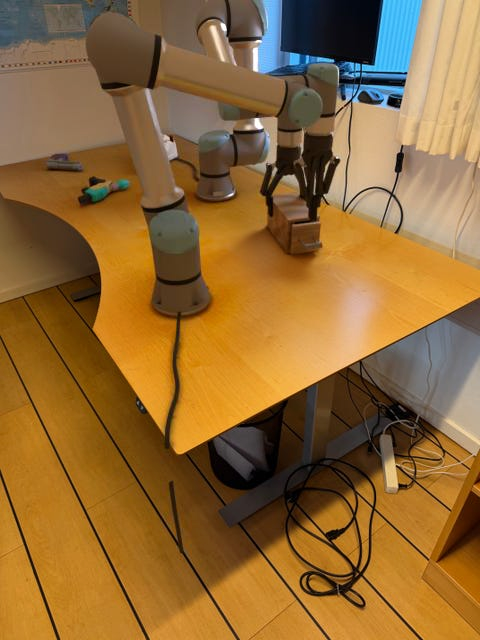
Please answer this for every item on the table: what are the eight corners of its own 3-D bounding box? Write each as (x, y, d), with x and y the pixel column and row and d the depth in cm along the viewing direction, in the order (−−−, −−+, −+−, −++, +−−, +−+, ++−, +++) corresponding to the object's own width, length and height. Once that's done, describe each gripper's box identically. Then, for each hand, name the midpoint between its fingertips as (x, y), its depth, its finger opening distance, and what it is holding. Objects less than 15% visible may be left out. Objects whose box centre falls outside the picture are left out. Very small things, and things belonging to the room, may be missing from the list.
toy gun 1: (94, 162, 221) (79, 173, 209) (58, 159, 224) (41, 170, 212) (93, 153, 219) (78, 164, 207) (56, 151, 222) (39, 161, 210)
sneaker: (133, 173, 208) (129, 144, 201) (161, 153, 230) (158, 127, 223) (155, 175, 205) (151, 146, 198) (180, 155, 227) (178, 129, 220)
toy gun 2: (55, 191, 179) (85, 198, 173) (101, 171, 197) (130, 177, 192) (57, 202, 181) (87, 209, 176) (103, 182, 200) (131, 187, 194)
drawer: (326, 260, 141) (329, 231, 136) (298, 264, 139) (300, 235, 134) (296, 225, 161) (298, 199, 156) (272, 228, 159) (272, 202, 154)
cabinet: (316, 249, 149) (319, 216, 142) (286, 253, 147) (288, 220, 140) (294, 222, 165) (296, 192, 158) (267, 226, 163) (267, 195, 156)
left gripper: (336, 126, 126) (328, 210, 140) (289, 130, 123) (286, 215, 137) (348, 133, 120) (338, 220, 134) (300, 138, 117) (295, 226, 131)
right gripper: (319, 137, 149) (313, 205, 162) (249, 143, 144) (249, 212, 157) (328, 144, 143) (322, 213, 156) (256, 151, 139) (256, 221, 152)
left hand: (312, 218), depth 135 cm, fingers closed
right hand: (285, 213), depth 157 cm, fingers closed on cabinet, 10 cm apart
